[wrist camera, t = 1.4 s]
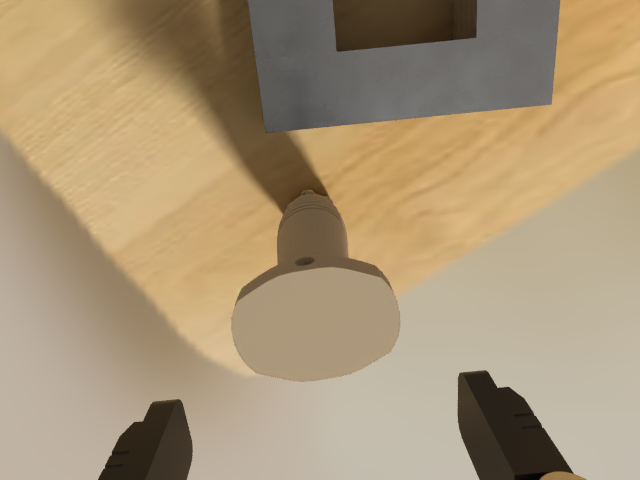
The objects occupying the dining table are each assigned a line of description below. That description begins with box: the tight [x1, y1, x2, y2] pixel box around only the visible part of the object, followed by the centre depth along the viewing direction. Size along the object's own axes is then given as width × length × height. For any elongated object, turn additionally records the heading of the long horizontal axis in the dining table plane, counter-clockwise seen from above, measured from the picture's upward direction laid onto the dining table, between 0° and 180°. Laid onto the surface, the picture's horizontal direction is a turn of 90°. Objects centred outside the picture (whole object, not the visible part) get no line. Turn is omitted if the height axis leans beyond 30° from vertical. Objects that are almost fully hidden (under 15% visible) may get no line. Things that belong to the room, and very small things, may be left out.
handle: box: [231, 189, 400, 382], centre depth 25 cm, size 5×6×15 cm
